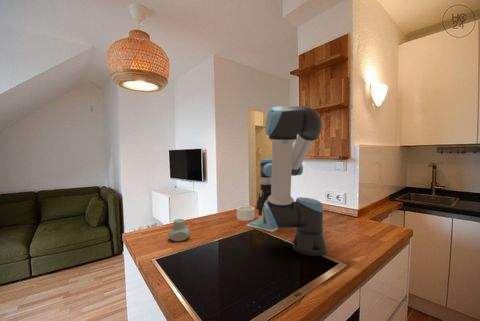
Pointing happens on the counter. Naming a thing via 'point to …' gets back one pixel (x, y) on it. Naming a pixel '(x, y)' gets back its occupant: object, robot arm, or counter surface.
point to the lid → (261, 223)
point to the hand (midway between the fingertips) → (267, 217)
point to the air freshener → (179, 230)
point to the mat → (263, 228)
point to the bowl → (245, 213)
